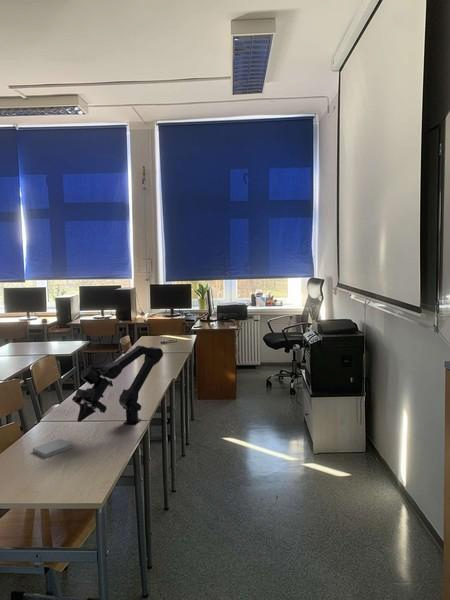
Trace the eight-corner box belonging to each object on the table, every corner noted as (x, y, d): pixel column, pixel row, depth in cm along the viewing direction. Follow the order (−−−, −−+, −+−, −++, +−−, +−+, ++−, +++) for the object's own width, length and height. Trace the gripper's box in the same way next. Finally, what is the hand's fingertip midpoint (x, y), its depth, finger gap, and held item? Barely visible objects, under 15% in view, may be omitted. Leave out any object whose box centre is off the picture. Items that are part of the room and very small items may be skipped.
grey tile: (59, 438, 194) (32, 448, 185) (72, 443, 188) (45, 453, 179) (59, 443, 194) (33, 452, 185) (72, 448, 188) (45, 458, 179)
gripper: (73, 378, 204) (53, 408, 196) (98, 383, 192) (78, 416, 185) (90, 390, 211) (70, 420, 203) (115, 396, 199) (95, 429, 192)
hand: (78, 421), depth 195 cm, fingers closed
